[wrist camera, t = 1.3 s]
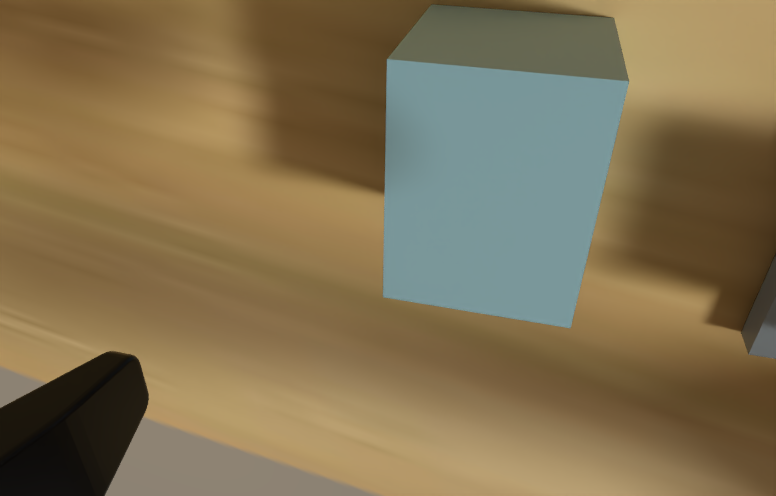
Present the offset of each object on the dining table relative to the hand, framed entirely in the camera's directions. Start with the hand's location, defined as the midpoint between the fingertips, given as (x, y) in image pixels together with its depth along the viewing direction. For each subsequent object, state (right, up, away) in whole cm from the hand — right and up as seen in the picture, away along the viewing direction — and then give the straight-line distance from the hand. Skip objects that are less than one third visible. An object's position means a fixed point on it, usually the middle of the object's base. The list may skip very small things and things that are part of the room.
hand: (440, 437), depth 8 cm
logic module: (+3, +6, +9) cm, 12 cm away
